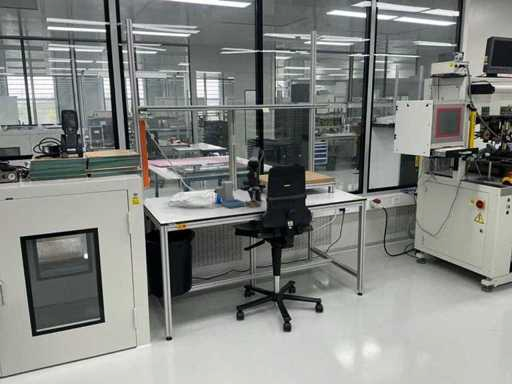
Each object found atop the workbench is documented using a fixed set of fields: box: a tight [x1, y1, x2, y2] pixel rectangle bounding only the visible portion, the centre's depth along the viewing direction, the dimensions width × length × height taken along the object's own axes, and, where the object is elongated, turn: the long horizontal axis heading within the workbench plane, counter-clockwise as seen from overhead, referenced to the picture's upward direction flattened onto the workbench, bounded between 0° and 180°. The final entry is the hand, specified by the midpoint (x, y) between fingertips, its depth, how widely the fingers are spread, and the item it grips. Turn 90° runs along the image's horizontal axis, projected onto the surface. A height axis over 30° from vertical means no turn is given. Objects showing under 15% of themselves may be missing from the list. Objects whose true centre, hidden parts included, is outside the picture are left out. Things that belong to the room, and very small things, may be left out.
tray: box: [220, 198, 245, 209], centre depth 302 cm, size 13×11×3 cm
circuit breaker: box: [213, 180, 235, 201], centre depth 312 cm, size 8×14×15 cm, turn 104°
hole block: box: [244, 200, 262, 209], centre depth 301 cm, size 8×8×3 cm
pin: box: [250, 191, 256, 203], centre depth 301 cm, size 4×4×11 cm
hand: (253, 198), depth 301 cm, fingers closed on pin, 3 cm apart
